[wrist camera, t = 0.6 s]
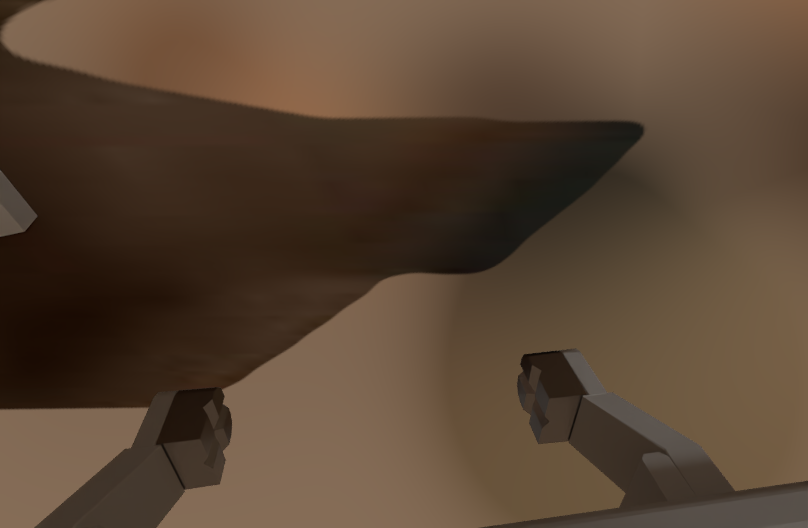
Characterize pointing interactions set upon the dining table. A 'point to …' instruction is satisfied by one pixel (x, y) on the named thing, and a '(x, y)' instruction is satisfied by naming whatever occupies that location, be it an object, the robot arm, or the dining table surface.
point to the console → (13, 209)
